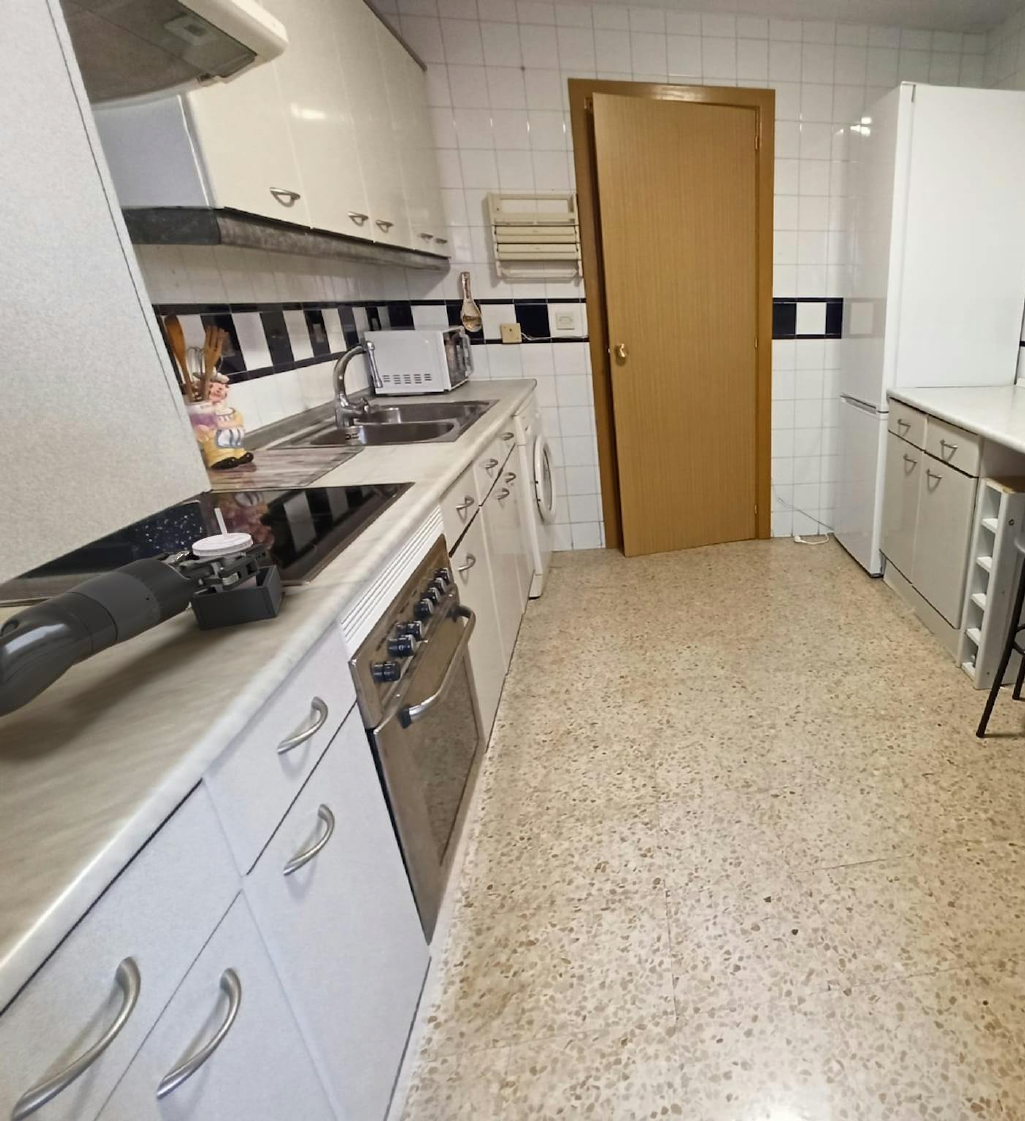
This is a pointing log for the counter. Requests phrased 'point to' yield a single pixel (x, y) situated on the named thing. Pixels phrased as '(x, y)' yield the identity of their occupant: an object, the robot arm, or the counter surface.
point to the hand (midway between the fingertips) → (240, 549)
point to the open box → (240, 602)
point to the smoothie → (224, 549)
